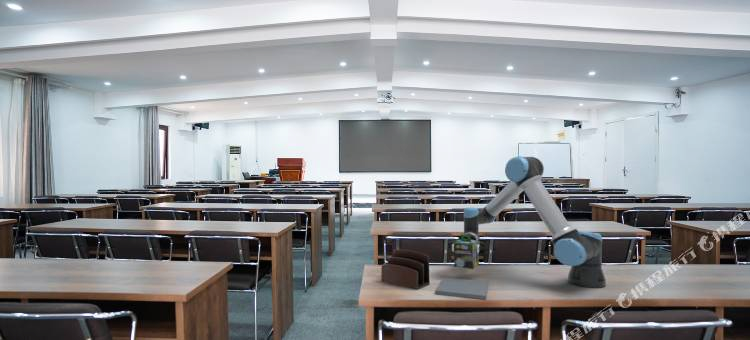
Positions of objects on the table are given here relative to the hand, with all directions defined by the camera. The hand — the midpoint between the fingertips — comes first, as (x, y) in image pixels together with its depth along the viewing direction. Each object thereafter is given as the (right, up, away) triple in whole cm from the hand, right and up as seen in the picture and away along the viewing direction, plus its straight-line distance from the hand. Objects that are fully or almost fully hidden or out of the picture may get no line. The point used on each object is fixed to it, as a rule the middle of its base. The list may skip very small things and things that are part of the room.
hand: (465, 249), depth 182 cm
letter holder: (-27, -15, -2) cm, 31 cm away
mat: (-3, -15, -11) cm, 19 cm away
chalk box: (+1, -9, +4) cm, 10 cm away
